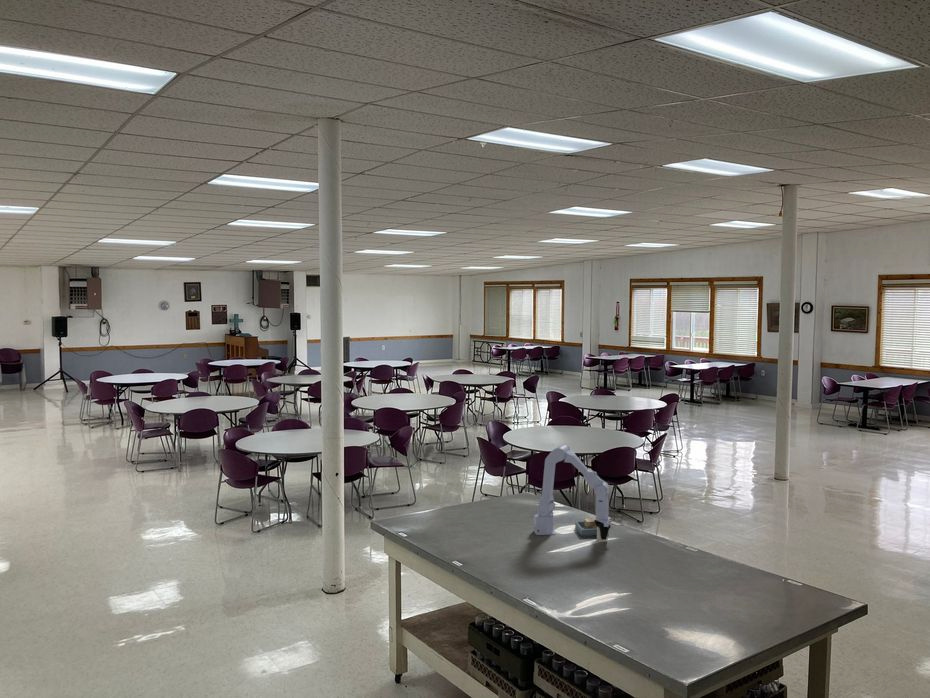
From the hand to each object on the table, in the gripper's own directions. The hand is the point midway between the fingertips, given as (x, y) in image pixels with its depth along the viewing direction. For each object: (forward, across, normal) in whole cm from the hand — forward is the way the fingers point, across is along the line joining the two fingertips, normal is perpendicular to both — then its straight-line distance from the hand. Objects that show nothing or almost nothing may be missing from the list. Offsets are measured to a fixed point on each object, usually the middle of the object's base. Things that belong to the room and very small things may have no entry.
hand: (602, 537), depth 318 cm
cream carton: (+2, 0, 0) cm, 2 cm away
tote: (+1, +12, +2) cm, 12 cm away
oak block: (0, +12, +2) cm, 12 cm away
